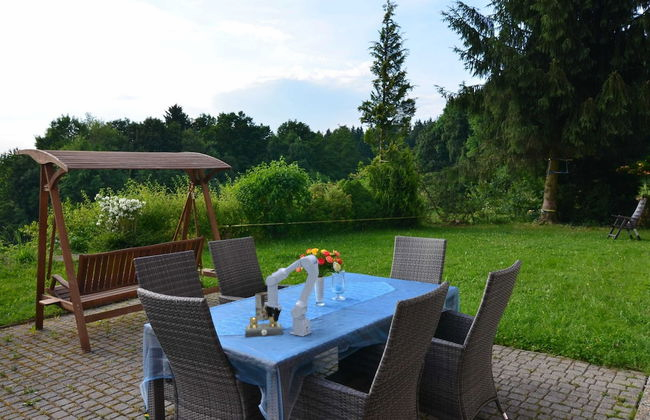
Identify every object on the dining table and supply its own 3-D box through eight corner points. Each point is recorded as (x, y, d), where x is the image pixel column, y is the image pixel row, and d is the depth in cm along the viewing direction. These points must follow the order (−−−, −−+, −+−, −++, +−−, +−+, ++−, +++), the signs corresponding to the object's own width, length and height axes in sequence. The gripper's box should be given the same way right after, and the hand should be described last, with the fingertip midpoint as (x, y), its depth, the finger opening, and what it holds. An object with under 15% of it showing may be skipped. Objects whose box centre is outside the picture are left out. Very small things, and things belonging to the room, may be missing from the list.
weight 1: (258, 327, 265) (258, 318, 265) (250, 328, 263) (250, 319, 263) (256, 325, 269) (256, 316, 269) (249, 326, 268) (248, 317, 267)
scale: (282, 335, 260) (282, 328, 260) (245, 337, 257) (245, 330, 257) (280, 327, 274) (280, 321, 274) (245, 329, 271) (245, 323, 271)
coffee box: (262, 321, 289) (261, 295, 289) (255, 319, 293) (254, 293, 293) (273, 317, 296) (272, 292, 296) (266, 316, 300) (265, 291, 300)
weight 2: (276, 326, 266) (276, 317, 265) (268, 326, 266) (268, 317, 265) (277, 324, 270) (277, 315, 270) (270, 324, 270) (270, 315, 270)
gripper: (286, 297, 264) (286, 321, 265) (271, 293, 276) (272, 316, 276) (275, 299, 260) (276, 323, 260) (261, 295, 271) (261, 318, 271)
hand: (273, 320), depth 268 cm, fingers open, 5 cm apart
